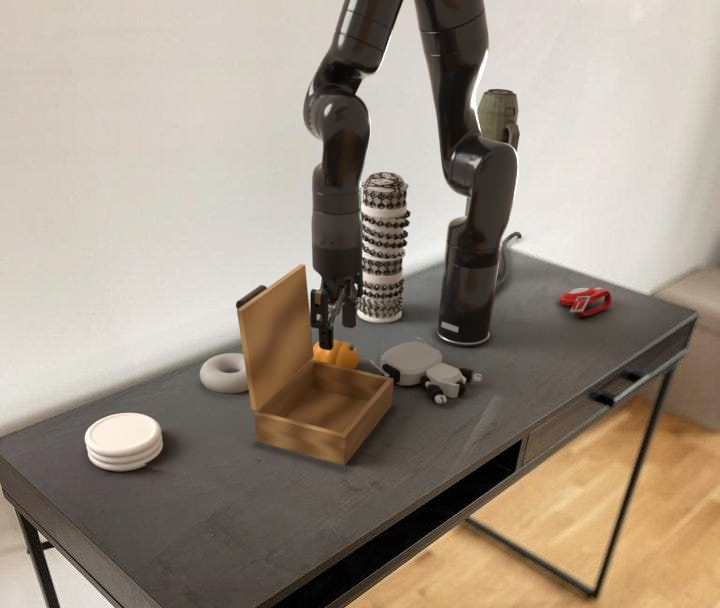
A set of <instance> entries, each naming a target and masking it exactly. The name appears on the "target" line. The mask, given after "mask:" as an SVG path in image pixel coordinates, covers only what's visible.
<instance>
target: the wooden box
mask: <svg viewBox="0 0 720 608" xmlns="http://www.w3.org/2000/svg"><path fill="white" fill-rule="evenodd" d="M393 380H394V379H393V378H389V377H385V376H383V375H381V374H376V373H372V372H368V371H363V370H359V369H351V368H346V367H342V366H338V365H333V364H329V363H325V362H321V361H316V360H312V359H311V360H310V361H309V362H308V363H307V364H306V365H305V366H303V367H302V368H301V369H300V370H299V371H298V372H297V373H296V374H295V375H294V376H293V377H292V378H291V379H290V380H289V381H288V382H287V383H285V384H284V385H283V386H282V387H281V388H280V389H279V390H278V391H277V392H276V393H275V394H274V395H273V396H272V397H271V398H270V399H268V400H267V401H266V402H265V403H264V404H263V405H262V406H261V407H260V408H259V409H258V410H257V411H256V412H254V424H255V426H254V427H255V440H256V442H258V443H263V444H266V445H270V446H274V447H277V448H281V449H284V450H288V451H291V452H295V453H297V454H302V455H306V456H309V457H312V458H315V459H320V460H324V461H327V462H331V463H334V464H338V465H341V466H345V465H346V464H347V463H348V462H349V460H350V459H351V458H352V456H353V455H354V453H356V451H357V450H358V449H359V447H361V445H362V444H363V442H364V441H365V440H366V438H367V437H368V436H369V435H370V434H371V432H372V431H373V430H374V428H376V426H377V425H378V423H379V422H380V421H381V420H382V419H383V417H384V416H385V414H386V413H387V412H388V410H390V409H391V407H392V405H393V396H394V395H393V393H394V382H393Z"/></svg>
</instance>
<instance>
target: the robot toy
mask: <svg viewBox="0 0 720 608" xmlns="http://www.w3.org/2000/svg"><path fill="white" fill-rule="evenodd" d="M416 339H417V340H418V341H414V340H413V341H408V342H407V341H406V342H402V343H400V344H397V345H393V346H392V347H390V348H389V349H388V350H387V351H385V352H384V353H383V354H382V355H381V357H380V363H379V365H378V364H377V363H376V362H375V361H374V360H369V363H370V364H371V365H372V366H374V367H375V368H376V369H377V370H378V371H379V372H380V375H381V376H385V377H389V378H393V379H394V380H393V383H395V384H397V385H399V386H406V387H407V386H408V387H410V386H415V385H419V384H420V385H421V386H422V387H423V388H426V391H427V396H428V397H429V399H430V400H431V401H432V402H435V403H437V404H439V405H442V404H446V403H447V401H448V399H447V398H451V399H456V398H458V396H463V395H464V394H465V393H466V391H467V387H466V383H468V384H471V381H472V382H474V383H481V382H482V380H483V375H482V374H480V373H474V370H473V369H469V368H465V367H460V368H457V367H455V366H452V365H450V364H447V363H445V362H442V361H443V354H442V353H441V352H440V351H439V349H437V348H435V347H433V346H431V345H429V344H428V343H427V342H425V340H424V339H422V338H421V337H420V336H417V337H416Z"/></svg>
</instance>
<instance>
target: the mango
mask: <svg viewBox="0 0 720 608" xmlns="http://www.w3.org/2000/svg"><path fill="white" fill-rule="evenodd" d="M313 354H314V357H313V358H312V359H311V360H316V361H321V362H325V363H329V364H333V365H338V366H342V367H346V368H351V369H355V370H357V367H358V365H359V363H360V357H359V353H358V350H357V348H356V347H355V346H354V345H353V344H350V343H348V342H345V341H340V340H336V339H334V347H333V349H332V350H325V349H321V348H320V347H319V340H318V341H317V342H316V343H315V344H313Z"/></svg>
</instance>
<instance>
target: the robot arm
mask: <svg viewBox="0 0 720 608" xmlns="http://www.w3.org/2000/svg"><path fill="white" fill-rule="evenodd" d="M404 1H405V0H343V4H342V6H341V9H340V13H339V16H338V19H337V23H336V25H335V29H334V33H333V35H332V39H331V44H330V46H329V48H328V50H327V52H326V53H325V55H324V56H323V58H322V60H321V62H320V64H319V66H318V67H317V68H316V69H317V70H316V72H315V74H313V77H312V79H311V81H310V83H309V85H308V88H307V91H306V93H305V96H304V101H303V107H302V118H303V124H304V126H305V128H306V130H307V131H308V133H309V134H310V135H311V136H312V137H314V138H315V139H316V140H318V141H321V142H322V157H321V162H320V163H318V164H316V165H315V167H314V168H313V169H312V174H311V202H312V204H311V205H312V211H311V259H312V268H313V270H314V271H315V272H316V273H317V274H318V275H319V276H320V278H321V280H320V287H319V289H315V288H312V289H311V290H310V292H309V293H310V294H309V298H310V299H309V311H310V322H311V329H312V328H313V329H318V341H319V347H320V348H321V349H325V350H332V349H333V347H334V340H335V339H334V335H335V334H334V324H335V320H336V317H337V316H339V315H340V313H341V325H342V327H344V328H348V329H354V328H355V327H356V326H357V305H358V302H359V299H358V297H360V298H361V297H362V296H363V264H362V233H363V222H362V214H361V212H362V186H361V184H362V175H363V172H364V168H365V164H366V160H367V156H368V150H369V146H370V140H371V131H372V130H371V129H372V126H371V115H370V112H369V108H368V107H367V104H366V103H365V101H364V100H363V99H362V98H361V96H359V95H358V94H357V93H358V91H359V89H360V87H361V85H362V83H363V81H364V79H366V78H367V77H371V76H373V75H375V74H377V73H378V72H379V70H380V68H381V66H382V63H383V61H384V58H385V56H386V52H387V49H388V46H389V44H390V42H391V39H392V36H393V31H394V29H395V26H396V23H397V21H398V17H399V14H400V12H401V9H402V6H403V4H404ZM413 2H414V3H413V4H414V9H415V14H416V21H417V26H418V27H417V28H418V33H419V37H420V42H421V46H422V50H423V55H424V58H425V64H426V68H427V72H428V78H429V82H430V88H431V94H432V95H431V96H432V101H433V106H434V109H435V116H436V123H437V124H436V125H437V134H438V145H439V153H440V163H441V169H442V170H441V171H442V175H443V178H444V180H445V183H446V185H447V186H448V187H449V189H450V190H451V191H453V192H454V193H455V194H457V195H460V196H462V197H465V198H466V199H467V198H470V199H471V200H470V205H469V211H468V215H467V216H465V215H464V216H460V217H456V218H453V219H452V220H450V222H448V225H447V227H446V228H447V229H446V238H445V249H444V259H443V260H444V261H443V271H442V280H441V288H440V289H441V290H440V291H441V292H440V300H439V311H438V319H437V327H436V336H437V338H438V339H440V341H442V342H444V343H446V344H448V345H452V346H457V347H463V348H464V347H469V348H470V347H478V346H481V345H483V344H485V343H487V341H488V340H489V338H490V328H491V320H492V314H493V307H494V300H495V293H496V292H497V291H498V290H499V289H501V288H502V286H504V285H505V283H506V281H507V280H508V278H509V274H510V262H509V258H508V251H507V244H508V243H509V242H510V241H511V240H512V239H513V238H515V237H517V238H518V239H520V238H522V237H523V236H522V235H523V234H521V232H520V231H514V232H512V233H510V234H509V235H508V236H507V237H505V238H504V234H505V232H506V230H507V229H508V226H509V224H510V220H511V215H512V210H513V204H514V199H515V195H516V190H517V185H518V179H519V170H520V168H519V166H520V163H519V157H518V153H516V151H515V149H514V148H513V147H512V146H510V145H509V144H506V143H504V142H501V141H498V140H494V139H491V138H488V137H484V136H483V135H482V132H481V130H480V126H479V122H478V116H477V110H478V108H477V91H478V88H479V84H480V81H481V78H482V75H483V72H484V69H485V67H486V63H487V59H488V55H489V50H490V36H489V35H490V34H489V27H488V20H487V13H486V5H485V1H484V0H413ZM503 238H504V240H503ZM501 244H503V247H502V253H501V256H502V259H503V263H504V270H503V275H502V278H501V279H500V280H499V282H498V283H497V278H498V275H497V273H498V274H499V267H500V265H499V258H500V251H501ZM498 266H499V267H498ZM330 306H333V307H330Z"/></svg>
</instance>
